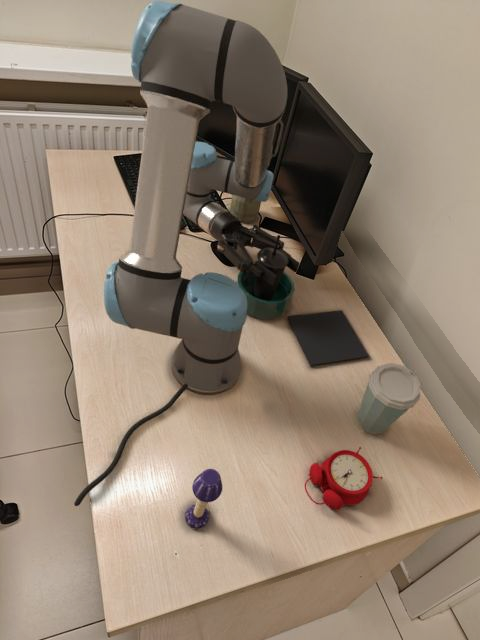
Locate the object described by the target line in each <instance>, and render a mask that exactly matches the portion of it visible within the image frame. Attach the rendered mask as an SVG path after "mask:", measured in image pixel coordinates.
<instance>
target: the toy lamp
mask: <svg viewBox="0 0 480 640" xmlns="http://www.w3.org/2000/svg"><path fill="white" fill-rule="evenodd" d="M191 488H192V493H193V496H194V497H195V498H196V499H197V501H196V502H195V503H194V504H192V505H190V506H189V507H188V508H187V510H186V511H185V514H184V520H185V523H186V524H187V525H188V527H190V528H191V529H193V530H194V529H195V530H200V529H203V528H204V527H206V526H207V525H208V523H209V521H210V512H209V510H208V508H207V505H208V503H213V502H214V501H216V500H218V499H219V498H220V497H221V495H222V492H223V481H222V477H221V474H220V473H219V471H217V470H216V469H214V468H207V469H204V470H203V471H202V472H200V473H199V474H198V475H197V476H196V477H195V478H194V479H193V482H192V487H191Z"/></svg>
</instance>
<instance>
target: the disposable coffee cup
mask: <svg viewBox="0 0 480 640" xmlns="http://www.w3.org/2000/svg"><path fill="white" fill-rule="evenodd" d="M420 398H421V382H420V379H419V378H418V376H417V375H416V374H415V373H414V372H413V371H412V370H411V369H409V368H408V367H406V366H405V365H402V364H397V363H394V362H391V363H385V364H382V365H378V366H377V367H376V368H375V369H374V370H373V371H372V372H370V374H369V375H368V383H367V385H366V388H365V391H364V395H363V398H362V401H361V403H360V407H359V409H358V410H359V411H358V415H357V421H358V423H359V426H360V427H361V429H363V430H364V431H365V432H366V433H370V434H372V435H377V434H381V433H384V432H385V431H386V430H387V429H388V428H390V427H391V426H392V425H393V424H394V423H395V422H396V421H397V420H399V418H401V417H402V416H403V415H404V414H405V413H407V411H409V410H410V409H412V408H414V407H415V406H416V405H417V404H418V402H419V401H420Z"/></svg>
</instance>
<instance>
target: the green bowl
mask: <svg viewBox="0 0 480 640" xmlns="http://www.w3.org/2000/svg"><path fill="white" fill-rule="evenodd" d="M255 276H256V274H254V273H253V272H252V271H251V273H247V270H245V272H241V271H240V270H239V272H238V274H237V277H236V281H235V282H236V283H237V284H238V285H239V286H240V288H241V289H242V290H243V291H244V293H245V295H246V298H247V311H246V314H247V315H248V316H250V317H252V318H257V319H260V320H275V319H279V318H282V317H283V315H285V314H286V313H288V311H289V308H290V305H291V303H292V300H293V296H294V293H295V290H296V288H295V282H294V281H293V279H292V277H291V276H290V275H289V274H288V273H287V272H285V271H284V272H283V274H282V276H281V279H280V281H279V283H278V286H277V288H276V290H275V293H274V295H273V297H272V299H271V301H265V300H261V299H258V298H256V297H254V296H253V291H254V284H255Z"/></svg>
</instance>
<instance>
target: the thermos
mask: <svg viewBox="0 0 480 640" xmlns="http://www.w3.org/2000/svg"><path fill="white" fill-rule="evenodd" d="M276 125H278V127H277V130H276V131H277V132H276V136H275V141H273V142H272V147H271V152H270V157H269V162H268V167H267V169H268V168H269V167H270V165H271V164H270V163H271V160H272V159H273V158H275V157H277V155H278V151H279V147H280V143H281V138H282V135H283V130H284V127H285V125H284V122H283V120H282V118H281V119H280V120H279V121H278V122H277V123H276ZM235 147H236V143H235V145H234V148H235ZM261 205H262V202H261V201H256V200H255V201H253V200H251V199H247V198H243V197H239V196H236V195H232V194H231V200H230V209H229V213H231V214H232V215H234V216H235V217H236V218H238V219H239V220H240V222H241V224H252V223H254V222H256V221H257V219H258V215H259V212H260V209H261Z"/></svg>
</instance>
